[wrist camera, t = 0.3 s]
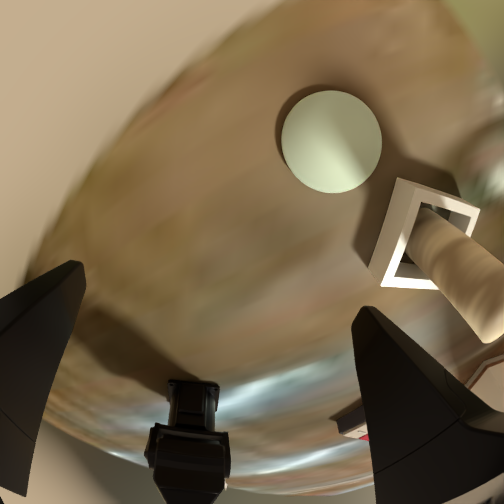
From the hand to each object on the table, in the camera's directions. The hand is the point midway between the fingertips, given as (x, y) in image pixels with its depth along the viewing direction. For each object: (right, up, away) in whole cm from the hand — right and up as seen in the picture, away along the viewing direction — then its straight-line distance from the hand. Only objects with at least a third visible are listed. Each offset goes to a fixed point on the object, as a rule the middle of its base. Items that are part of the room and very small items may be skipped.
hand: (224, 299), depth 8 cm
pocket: (+17, +3, +16) cm, 23 cm away
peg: (+17, +3, +16) cm, 23 cm away
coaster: (+7, +10, +12) cm, 17 cm away
